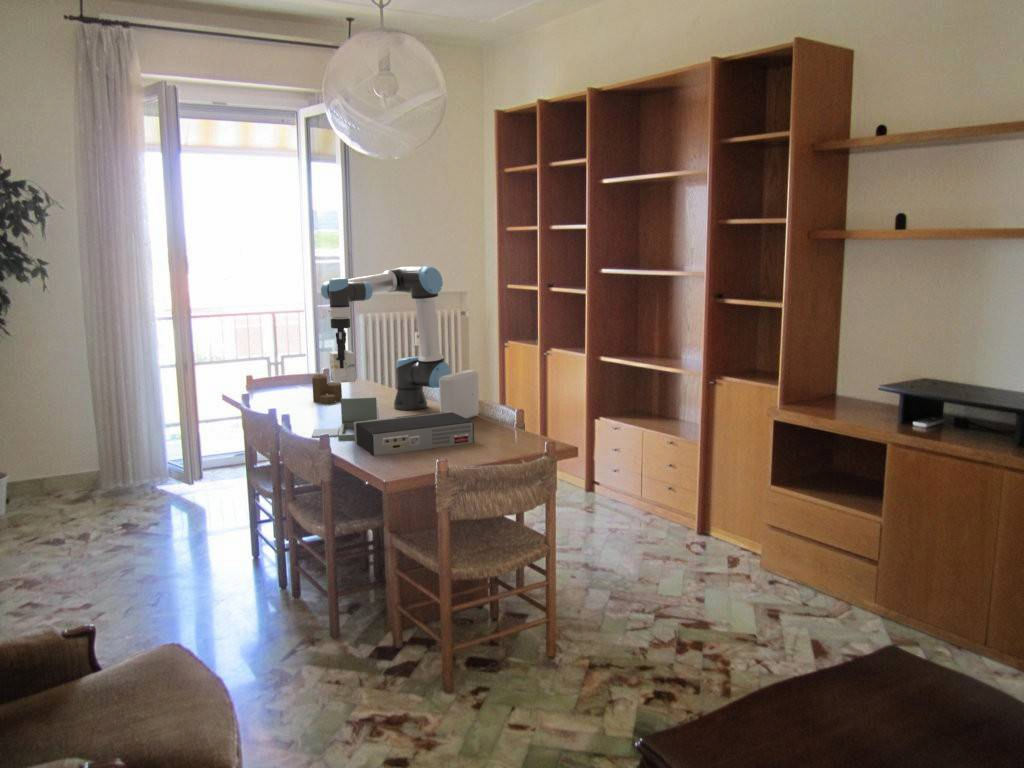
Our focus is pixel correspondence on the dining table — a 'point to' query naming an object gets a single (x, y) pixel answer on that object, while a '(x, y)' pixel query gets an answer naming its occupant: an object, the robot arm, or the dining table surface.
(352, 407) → the grey angled piece
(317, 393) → the brown stepped block
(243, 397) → the dining table surface
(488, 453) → the dining table surface
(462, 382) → the white upright slab
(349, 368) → the ink box
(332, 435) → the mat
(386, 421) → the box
